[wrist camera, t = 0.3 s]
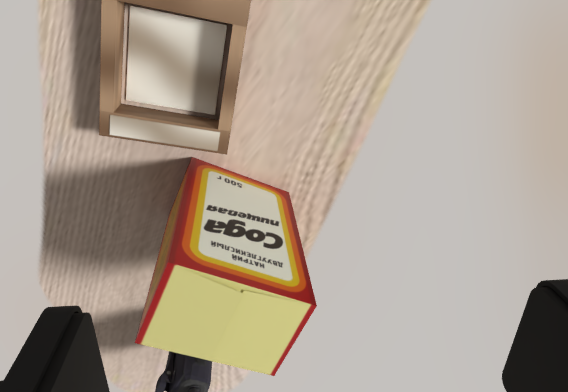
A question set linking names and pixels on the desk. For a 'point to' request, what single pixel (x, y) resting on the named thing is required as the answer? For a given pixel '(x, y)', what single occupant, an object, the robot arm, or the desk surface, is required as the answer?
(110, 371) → the desk surface
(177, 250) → the baking soda box
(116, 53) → the wooden tray
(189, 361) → the two-way radio
